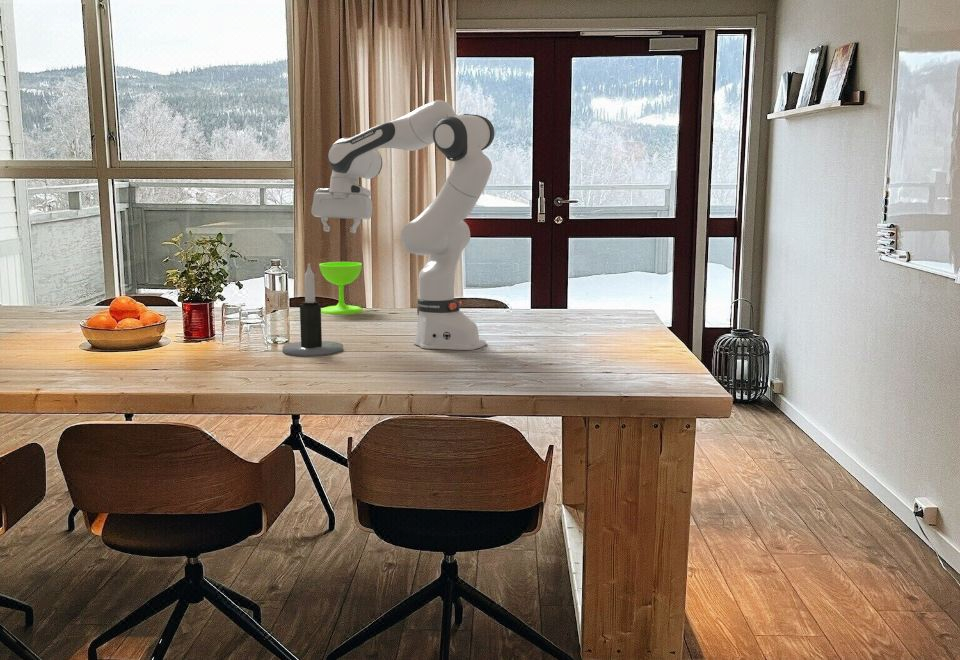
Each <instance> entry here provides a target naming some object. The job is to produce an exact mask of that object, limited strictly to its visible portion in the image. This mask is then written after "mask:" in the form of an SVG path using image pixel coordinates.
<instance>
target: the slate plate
mask: <svg viewBox="0 0 960 660" xmlns="http://www.w3.org/2000/svg"><path fill="white" fill-rule="evenodd" d="M281 348H282V349H281V352H282V353H283V354H285V355H288V356H292V355H293V357H325V356H331V355H335V354H339V353H342V352H343V351H344V345H343V343H341V342H337V341H331V340H328V341H327V340H322V346H321V347H315V348H305V347H301V341H295V342H290V343H288V344H285V345H283V346H282V347H281Z"/></svg>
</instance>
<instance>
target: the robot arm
mask: <svg viewBox="0 0 960 660" xmlns="http://www.w3.org/2000/svg"><path fill="white" fill-rule="evenodd" d="M494 140H495V128H494V124H493V123H492V122H491V120H490V119H488V118H487V117H485V116H482V115H479V114H469V113H464V114H456V112H455V110H454V108H453V106H451V104H449V102H448V101H445V100H441V99H436V100H433V101H431V102H428V103H425V104H423V105H420V106H418V107H417V108H416V109H413V110H412V111H411V112H409V113H406V114H405V115H403V116H400V117H399V118H395V119H393V120H390V121H386V122H384V123H380V124H377V125H375V126H373V127H371V128H369V129H367V130H364V131H362V132H360V133H359V134H356V135H354V136H352V137H342V138H339V139H338V140H336V141H335V142H334V143H332V145H331V146H330V147H329V150H328V152H327V161H328V165H329V167H330V168H331V169H332V170H331V175H330V180H329V181H330V182H329V188H322V187H321V188H318V189H316V190H315V191H314V192H313V200H312V205H311V212H310V213H311V215H312V216H313V217H316V218H320V221H321V223H322V225H323V232H330V231H331V226H330V225H328V221H329V218H330V219H331V218H332V219H351V220H353V225H352V226H350V227H349V232H350V233H352V234H356V233H357V228H358V227H359V225H360V224H361V220H370V219H371V218H372V216H373V201H372V198H371V196H372V191H371V190H370V189H368V188H366V187H363V186H362V185H359V178H362V179H371V180H372V179H375V178H376V177H377V176H379V174H380V173H381V170H382V168H383V157H382V156H381V153H380V152H379V151H377V150H380V149H396V150H403V151H411V152H412V151H413V152H414V151H418V150H422V149H424V148H426V147H428V146H430V145H432V144H435V146H436V148H437V150H439V151H440V152H441V153H442V154H443V155H444V156H445V157H446V159H447V160H448V161H450V162H454V165H453V167H452V169H451V172H450V173H449V174H448V177H447V178H446V180H445V182H444V183H443V186H442V187H441V189H440V190H439V192H438V194H437V195H436V197H435V198H434V199H433V200H432V202H431V203H430V204H429V205H428V206H427V207H426V208H425V209H424V210H423V211H422V212H421V213H420V214H419V215H418V216H417V217H415V218H414V219H412V220H411V221H409V222H407V223H406V224H405V225H403V227H402V229H401V232H400V242H401V246H402V247H403V249H404V250H405V251H406V252H407V253H409V254H412V255H417V256H428V259H427V262H426V264H425V266H423V268H422V269H421V270H419V274H418V298H417V306H416V310H417V326H416V327H417V328H416V332H415V337H414V338H415V339H414V340H413V344H414V345H416V346H418V347H420V348H421V349H428V350H429V349H431V350H452V351H455V350H458V351H470V350H477V349H479V348H482V347H484V346H486V344H487V341H486V339H483V338H482V339H481V338H480V335H479V334H480V333H479V328H478V326H477V324H476V322H475V321H473V320H471V318H469V317H468V316H467V315H466V314H464V313H463V312H462V311H461V310H460V309H461V306H462V300H460V301H459V300H457V299H456V298H455V278H456V277H455V276H456V275H455V274H456V269H457V267H458V266H457V265H458V262H459V259H460V256H461V254H462V252H463V251H464V249H465V248H466V247H467V246H468V244H469V242H470V239H471V231H470V230H471V229H470V227H469V225H468V224H467V222H465V221H464V220H466V219H467V218H468V217H469V215H471V213H472V211H473V209H474V208H475V206H476V204H477V202H478V200H479V199H480V198H481V195H482V193H483V192H484V190H485V188H486V185H487V184H488V181H489V179H490V175H491V174H492V173H491V172H492V169H493V166H492V165H493V164H492V162H491V159H490V158H489V157H488V156H487V154H485V153H484V152H483V151H484V150H486V149H487V148H488V147H490V146H491V144H492V143H493V141H494Z"/></svg>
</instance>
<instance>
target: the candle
mask: <svg viewBox="0 0 960 660" xmlns="http://www.w3.org/2000/svg"><path fill="white" fill-rule="evenodd" d="M315 283H316V282H315V274H314V272H313V271H312V267H311V263H308V264H307V269H306V272H305V273H304V301H302V303H300V304H299V317H300V318H299V319H300V327H299V328H300V342H301V347H305V348H315V347H321V346H322V341H323V339H322V338H323V337H322V336H323V335H322V313H321V309H322V306H321V303H319V301H317V300H316V292H315V291H316V288H315V287H316V286H315V285H316V284H315Z"/></svg>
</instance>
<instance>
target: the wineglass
mask: <svg viewBox="0 0 960 660" xmlns="http://www.w3.org/2000/svg"><path fill="white" fill-rule="evenodd" d="M318 265H319V270H320V273H321V275H322V276H323V278H324V279H325V280H326V281H327V282H329V283H330V284H333V285H335V286H338V303H337V304H336V305H329V306H326V307H323V308H321V314H325V315H326V314H327V315H337V314H338V315H339V316H340V315H341V314H342V315H354V314H360V313H362V312H363V311H364V309H363V308H362V307H361V306H357V305H349V304H348V305H347V304H346V302H345V293H344V291H345V290H344V288H345V286H346V285H349V284H352V283H353V282H354V281H355V280H356V279H358V277H359V276H360V274H361V271H362V265H363V264H362V262H357V261H354V262H353V261H330V262H323V263H319V264H318Z"/></svg>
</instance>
